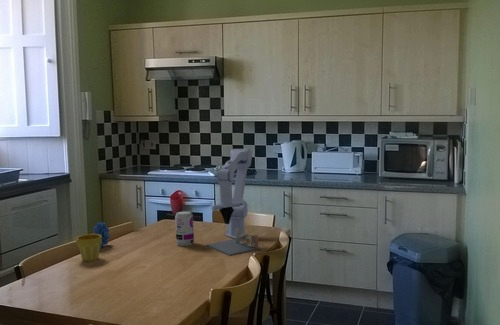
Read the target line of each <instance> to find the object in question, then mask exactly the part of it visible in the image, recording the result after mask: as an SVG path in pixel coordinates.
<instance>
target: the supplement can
mask: <svg viewBox="0 0 500 325" xmlns="http://www.w3.org/2000/svg"><path fill="white" fill-rule="evenodd" d="M174 220H175V221H174V222H175V239H176V240H175V242H176V244H177V245H178V246H179V247H188V246H191V245H193V244H194V243H195V230H194V215H193V213H192V211H189V210H188V211H185V210H183V211H178V212H175V217H174Z"/></svg>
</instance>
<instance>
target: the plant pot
mask: <svg viewBox="0 0 500 325" xmlns="http://www.w3.org/2000/svg"><path fill="white" fill-rule="evenodd" d="M75 240H76V241H75V242H76V246H77V247H78V250H79V253H80V256H81V260H82V261H84V262H91V261H95V260H98V259H99V256H100V248H101V247H100V244H101V243H102V236H101V235H99V234H93V233H88V234H82V235H79V236H77V237H76V239H75Z"/></svg>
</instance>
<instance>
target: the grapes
mask: <svg viewBox="0 0 500 325" xmlns="http://www.w3.org/2000/svg"><path fill="white" fill-rule="evenodd" d="M92 230H93V233H92V234H99V235H101V236H102V243H101V244H100V248H103V247H104V246H106V245H108V243H109V239H110V238H111V235H110V234H109V232H110V228H109V227H108V226H107V224H106V223H105V222H100V221H98V222H97V223H96V225H95V226H93V229H92Z"/></svg>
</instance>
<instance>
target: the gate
mask: <svg viewBox="0 0 500 325" xmlns="http://www.w3.org/2000/svg"><path fill="white" fill-rule="evenodd" d="M245 234H246V233H245ZM245 234H242V233H238V236H239V243H241V244H244V245H247V246H250V247H255V237H253V235H249V234H247V235H245ZM245 240H246V241H245Z"/></svg>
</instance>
